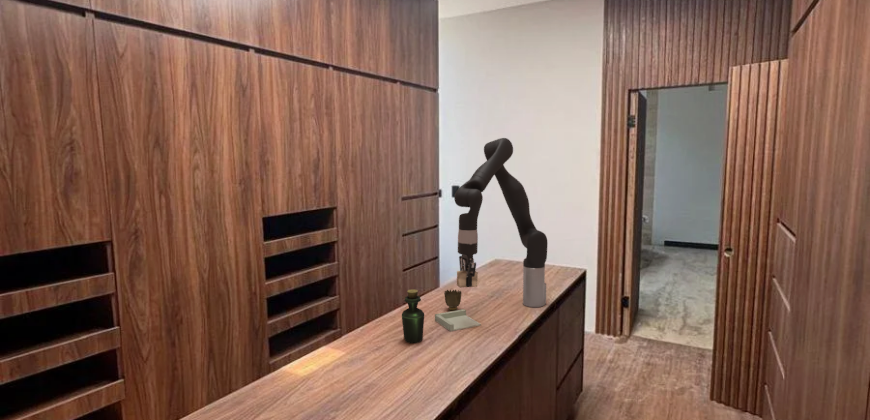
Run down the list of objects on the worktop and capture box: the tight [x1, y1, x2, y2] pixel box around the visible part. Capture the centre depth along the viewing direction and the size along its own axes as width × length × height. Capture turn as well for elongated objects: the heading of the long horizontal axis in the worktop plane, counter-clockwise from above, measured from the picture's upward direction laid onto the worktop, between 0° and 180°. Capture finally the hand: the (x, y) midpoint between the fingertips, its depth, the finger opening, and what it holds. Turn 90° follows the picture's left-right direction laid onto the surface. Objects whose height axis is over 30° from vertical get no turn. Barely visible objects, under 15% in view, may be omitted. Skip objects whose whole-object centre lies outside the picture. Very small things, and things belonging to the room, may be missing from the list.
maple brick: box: [456, 270, 479, 289], centre depth 175 cm, size 4×7×6 cm, turn 104°
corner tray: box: [434, 308, 482, 332], centre depth 180 cm, size 14×13×2 cm
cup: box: [444, 289, 462, 312], centre depth 195 cm, size 8×7×8 cm
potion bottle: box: [401, 289, 425, 344], centre depth 162 cm, size 8×8×18 cm
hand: (466, 284), depth 175 cm, fingers closed on maple brick, 4 cm apart
